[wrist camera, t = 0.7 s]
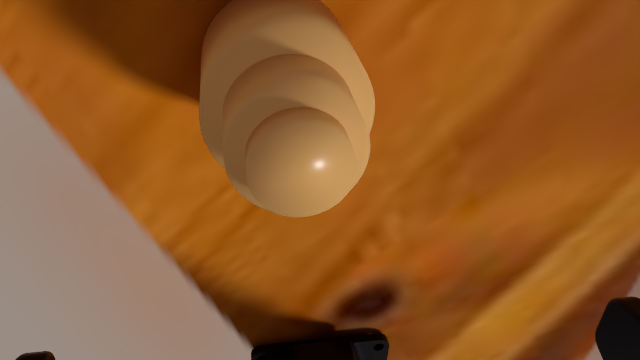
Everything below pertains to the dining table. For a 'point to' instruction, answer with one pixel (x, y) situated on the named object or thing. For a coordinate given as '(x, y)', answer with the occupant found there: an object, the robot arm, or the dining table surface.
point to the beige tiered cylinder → (285, 104)
